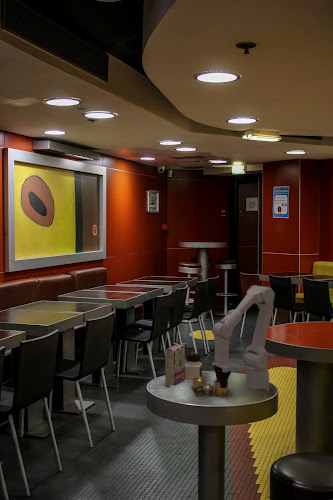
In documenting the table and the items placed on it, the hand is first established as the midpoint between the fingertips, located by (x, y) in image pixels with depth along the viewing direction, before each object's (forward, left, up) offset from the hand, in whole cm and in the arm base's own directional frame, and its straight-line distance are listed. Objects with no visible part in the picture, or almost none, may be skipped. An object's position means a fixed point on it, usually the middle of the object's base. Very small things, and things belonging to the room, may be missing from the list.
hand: (221, 385), depth 241 cm
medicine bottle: (+8, -25, -5) cm, 27 cm away
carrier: (+4, -3, -4) cm, 7 cm away
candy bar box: (+17, -18, -5) cm, 26 cm away
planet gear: (0, 0, -3) cm, 3 cm away
